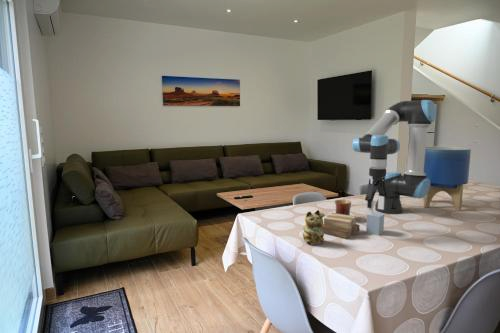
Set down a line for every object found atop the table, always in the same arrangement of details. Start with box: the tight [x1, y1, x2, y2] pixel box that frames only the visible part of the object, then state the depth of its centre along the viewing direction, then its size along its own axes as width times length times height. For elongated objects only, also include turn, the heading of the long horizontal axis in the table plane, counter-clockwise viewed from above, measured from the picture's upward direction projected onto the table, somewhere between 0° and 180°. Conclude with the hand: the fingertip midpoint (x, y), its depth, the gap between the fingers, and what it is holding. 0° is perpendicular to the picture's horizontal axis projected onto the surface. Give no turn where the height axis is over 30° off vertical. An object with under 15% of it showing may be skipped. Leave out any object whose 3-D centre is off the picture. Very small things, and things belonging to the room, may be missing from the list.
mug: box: [334, 199, 352, 215], centre depth 180 cm, size 12×9×10 cm
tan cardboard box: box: [320, 223, 360, 240], centre depth 159 cm, size 14×14×4 cm
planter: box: [422, 145, 472, 212], centre depth 205 cm, size 26×26×37 cm
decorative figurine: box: [302, 209, 326, 246], centre depth 146 cm, size 10×8×15 cm
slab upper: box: [323, 212, 357, 231], centre depth 159 cm, size 12×12×4 cm
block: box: [365, 211, 385, 236], centre depth 158 cm, size 6×6×9 cm
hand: (375, 211), depth 157 cm, fingers open, 13 cm apart
